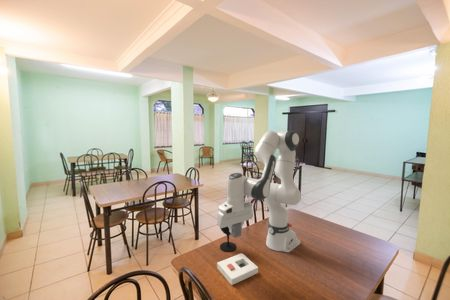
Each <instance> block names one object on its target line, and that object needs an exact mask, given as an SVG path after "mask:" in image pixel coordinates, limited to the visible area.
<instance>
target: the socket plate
mask: <svg viewBox="0 0 450 300" xmlns="http://www.w3.org/2000/svg"><path fill="white" fill-rule="evenodd" d="M216 268H217V270H218V271H219V272H220V273H221V274H222V276H224V278H225V279H226V280H227V282H228V283H229V284H230V285H231V286H233V285H235V284H238V283H240V282H241V281H244V280H246V279H248V278H250V277H253V276H254V275H257V274H258V273H259V267H258V266H257V265H256V264H255V263H254V262H253V261H251V260H250V259H249V258H248V257H247V256H246V255H245V254H243V253H242V252H241V253H238V254H235V255H234V256H231V257H229V258H225V259H223V260H220V261H217V262H216Z"/></svg>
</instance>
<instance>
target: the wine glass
mask: <svg viewBox="0 0 450 300" xmlns="http://www.w3.org/2000/svg"><path fill="white" fill-rule="evenodd" d="M219 228H220V227H219ZM220 230H221V232H222V233H223V234H225V235H226V239H227V240H226V241H224V242H222V243H221V244H220V245H219V249H220V250H221V251H222V252H224V253H231V252H235V250H237V245H236V244H235V243H234V242H232V241H230V235H231V233H230V232H229V228H228V226H227V227H224V228H220Z"/></svg>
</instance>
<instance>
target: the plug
mask: <svg viewBox="0 0 450 300" xmlns="http://www.w3.org/2000/svg"><path fill="white" fill-rule="evenodd" d="M231 228H232V229H233V232H232V233H231V234H230V235H231V236H232V237H233V238H235V239H236V238H238V237H241V236H242V229H241V222H240V223H237V224H234V225H232V227H231Z"/></svg>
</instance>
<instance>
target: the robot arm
mask: <svg viewBox="0 0 450 300" xmlns="http://www.w3.org/2000/svg"><path fill="white" fill-rule="evenodd" d="M299 143H300V135H299V134H298V132H297V131H296V130H281V131H280V130H279V131H273V130H269V131H268V130H267V131H266V132H265V133H264V134H263V135H262V136H261V138H260V139H259V141H258V142H257V144H256V146H255V148H254V156H255V158H256V159H257V160H258V161H259V162H260V163H262V164H263V165H264V167H263V171H262V174H261V177H260V178H258V179H257V178H252V177H249V176H245V175H243V173H240V172H235V173H230V174H229V175H228V177H227V181H226V194H227V198H226V201H225V202H223V203H222V204H220V205H218V207H217V208H218V213H217V214H216V215H217V217H216V223H217V226H218V227H219V228H224V227H227V226H228V228H229V232H230V233H232V232H233V229H232V228H231V227H232V225H234V224H237V223H240V222H241V230H243V225H244V224H245V222H246V221H250V220H252V219H253V218H254V212H253V203H252V202H250V201H247V202H245V196H246V197H250V198H253V199H255V200H257V201H259V202H260V201H264V202H265V204H266V205H267V208H268V219H269V220H268V225H267V228H268V230H267V236H266V241H265V244H266V246H267V247H268V249H270V250H273V251H276V252H284V253H290V252H292V251H293V250H294V249H295V248H297V247H298V246H299V245H301V240H300V239H298V237H297V234H296V232H295V231H293V230H292V229H291V228H292V227H293V224H292V223H290V222H288V221H289V219H288V218H289V217H288V216H289V213H288V210H287V209H286V208H285V207H284V206H283V204H284V205H287V206H289V205H290V206H296V205H298V204H299V203H300V201H301V200H302V193H301V191H300V190H299V188H298V187H297V185H296V184H295V182H294V168H295V164H296V150H297V147H298V146H299ZM276 150H278V156H277V157H276V156H275V153H276ZM274 174H275V176H276V177H277V178H278V179H280V183H276V182H272V179H273V176H274Z"/></svg>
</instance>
